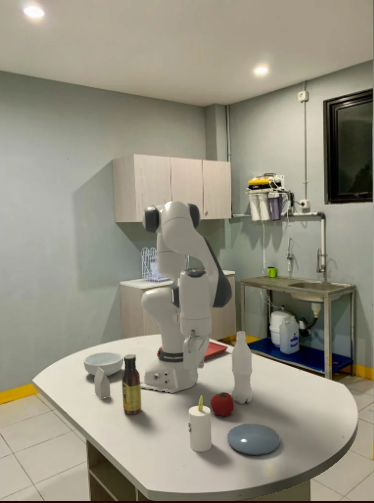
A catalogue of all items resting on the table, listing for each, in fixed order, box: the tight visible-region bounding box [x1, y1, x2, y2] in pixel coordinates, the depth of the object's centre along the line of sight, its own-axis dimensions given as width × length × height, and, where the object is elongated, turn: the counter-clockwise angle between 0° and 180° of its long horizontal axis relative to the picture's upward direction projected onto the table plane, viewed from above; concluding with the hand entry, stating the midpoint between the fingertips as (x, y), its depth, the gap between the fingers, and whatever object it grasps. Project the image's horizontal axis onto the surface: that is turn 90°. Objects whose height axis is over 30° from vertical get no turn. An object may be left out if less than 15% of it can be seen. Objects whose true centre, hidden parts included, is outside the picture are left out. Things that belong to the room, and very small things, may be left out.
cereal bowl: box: [83, 351, 124, 377], centre depth 175 cm, size 17×17×7 cm
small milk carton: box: [93, 367, 111, 400], centre depth 154 cm, size 4×7×10 cm, turn 31°
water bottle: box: [231, 330, 254, 405], centre depth 144 cm, size 7×7×25 cm
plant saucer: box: [204, 340, 229, 361], centre depth 196 cm, size 18×18×3 cm
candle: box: [188, 395, 213, 453], centre depth 117 cm, size 6×6×15 cm
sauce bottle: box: [121, 353, 142, 415], centre depth 139 cm, size 6×6×20 cm
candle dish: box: [226, 423, 281, 456], centre depth 118 cm, size 15×15×2 cm
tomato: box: [210, 391, 235, 417], centre depth 136 cm, size 8×8×7 cm
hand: (197, 373), depth 116 cm, fingers open, 8 cm apart
